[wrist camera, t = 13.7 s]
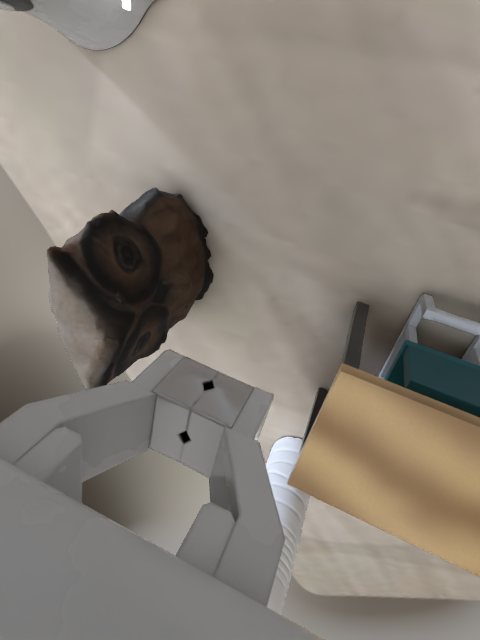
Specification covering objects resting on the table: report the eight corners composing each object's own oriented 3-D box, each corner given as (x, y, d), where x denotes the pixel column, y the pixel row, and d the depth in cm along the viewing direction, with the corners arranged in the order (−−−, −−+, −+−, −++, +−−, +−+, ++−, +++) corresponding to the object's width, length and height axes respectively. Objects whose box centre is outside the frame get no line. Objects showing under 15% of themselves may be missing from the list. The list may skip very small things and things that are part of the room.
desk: (356, 298, 39) (339, 370, 28) (537, 364, 36) (608, 479, 24) (314, 394, 47) (286, 484, 35) (461, 456, 43) (487, 580, 31)
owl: (179, 177, 41) (27, 208, 24) (253, 265, 42) (159, 354, 25) (121, 247, 47) (-28, 310, 31) (187, 321, 49) (78, 420, 32)
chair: (420, 288, 37) (429, 343, 27) (505, 316, 35) (547, 386, 25) (370, 382, 43) (363, 454, 33) (441, 410, 41) (455, 494, 32)
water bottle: (291, 476, 54) (226, 692, 33) (264, 443, 53) (179, 644, 32) (341, 459, 49) (303, 698, 29) (312, 423, 49) (250, 643, 28)
